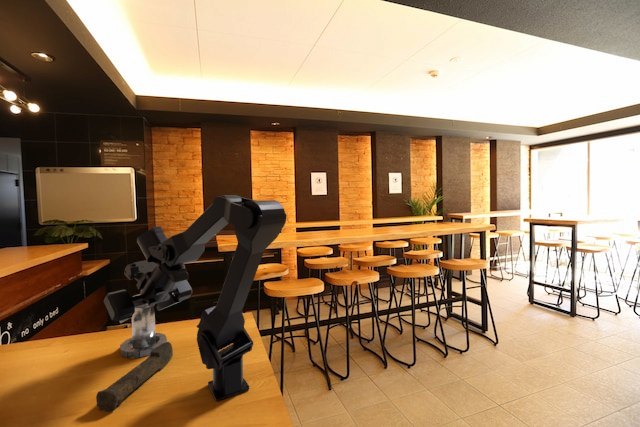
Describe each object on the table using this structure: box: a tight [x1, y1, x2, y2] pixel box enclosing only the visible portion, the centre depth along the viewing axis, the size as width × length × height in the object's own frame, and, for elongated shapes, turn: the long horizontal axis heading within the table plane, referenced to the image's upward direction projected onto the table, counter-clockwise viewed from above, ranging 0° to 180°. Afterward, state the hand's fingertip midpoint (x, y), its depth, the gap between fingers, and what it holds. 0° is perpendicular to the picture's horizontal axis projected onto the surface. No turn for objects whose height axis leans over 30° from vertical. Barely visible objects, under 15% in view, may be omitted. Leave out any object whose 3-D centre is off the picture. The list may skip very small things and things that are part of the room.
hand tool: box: [95, 341, 174, 412], centre depth 63 cm, size 19×4×5 cm, turn 169°
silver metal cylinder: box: [131, 293, 157, 349], centre depth 77 cm, size 5×5×13 cm
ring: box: [119, 332, 168, 359], centre depth 77 cm, size 10×10×2 cm
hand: (139, 314), depth 77 cm, fingers open, 9 cm apart
